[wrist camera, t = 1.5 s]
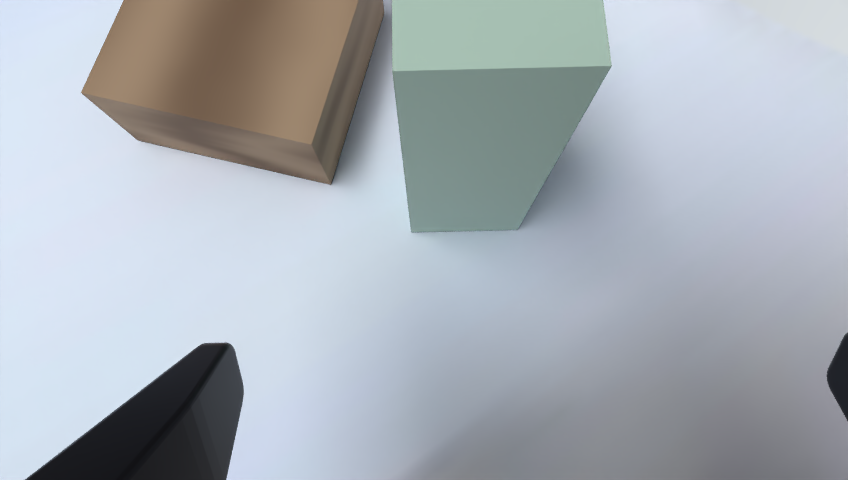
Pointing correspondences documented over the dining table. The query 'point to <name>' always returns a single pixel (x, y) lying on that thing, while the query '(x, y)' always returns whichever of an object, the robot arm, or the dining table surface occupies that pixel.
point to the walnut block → (239, 78)
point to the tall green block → (490, 102)
